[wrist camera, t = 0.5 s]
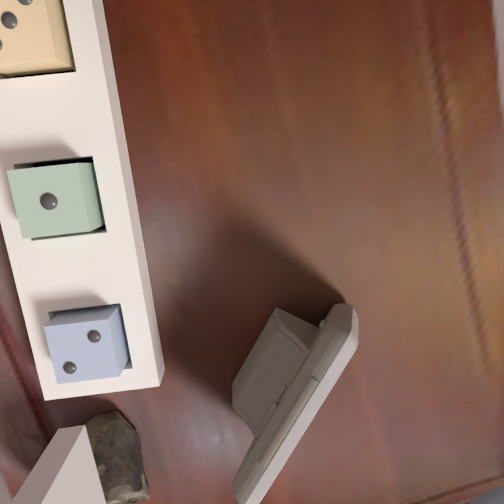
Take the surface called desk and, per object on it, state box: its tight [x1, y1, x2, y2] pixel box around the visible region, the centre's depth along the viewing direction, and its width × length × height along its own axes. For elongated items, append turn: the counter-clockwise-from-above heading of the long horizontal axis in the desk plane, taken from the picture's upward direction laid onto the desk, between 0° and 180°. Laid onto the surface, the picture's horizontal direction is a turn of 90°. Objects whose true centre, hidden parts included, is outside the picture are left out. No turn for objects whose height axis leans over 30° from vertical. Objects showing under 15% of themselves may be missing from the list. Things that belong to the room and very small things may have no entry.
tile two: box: [44, 303, 130, 384], centre depth 33 cm, size 5×5×4 cm
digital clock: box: [232, 303, 358, 504], centre depth 33 cm, size 16×9×11 cm, turn 140°
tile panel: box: [0, 0, 165, 401], centre depth 33 cm, size 34×10×3 cm, turn 6°
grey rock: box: [36, 411, 150, 504], centre depth 37 cm, size 11×9×10 cm
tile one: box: [6, 163, 105, 239], centre depth 31 cm, size 5×5×4 cm
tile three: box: [0, 0, 76, 76], centre depth 28 cm, size 5×5×4 cm
